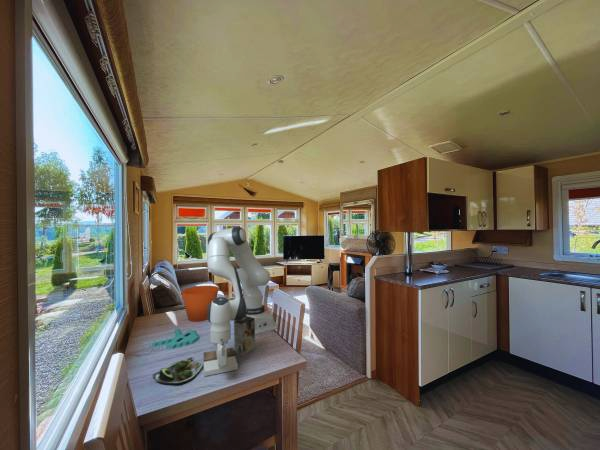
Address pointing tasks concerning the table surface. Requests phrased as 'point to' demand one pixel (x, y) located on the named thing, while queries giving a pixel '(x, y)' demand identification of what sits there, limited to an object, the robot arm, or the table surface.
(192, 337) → the alien figure
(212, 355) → the walnut board
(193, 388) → the table surface
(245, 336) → the coffee box
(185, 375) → the salad plate
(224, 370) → the grey plank
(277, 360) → the table surface
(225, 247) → the robot arm
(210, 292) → the flowerpot
